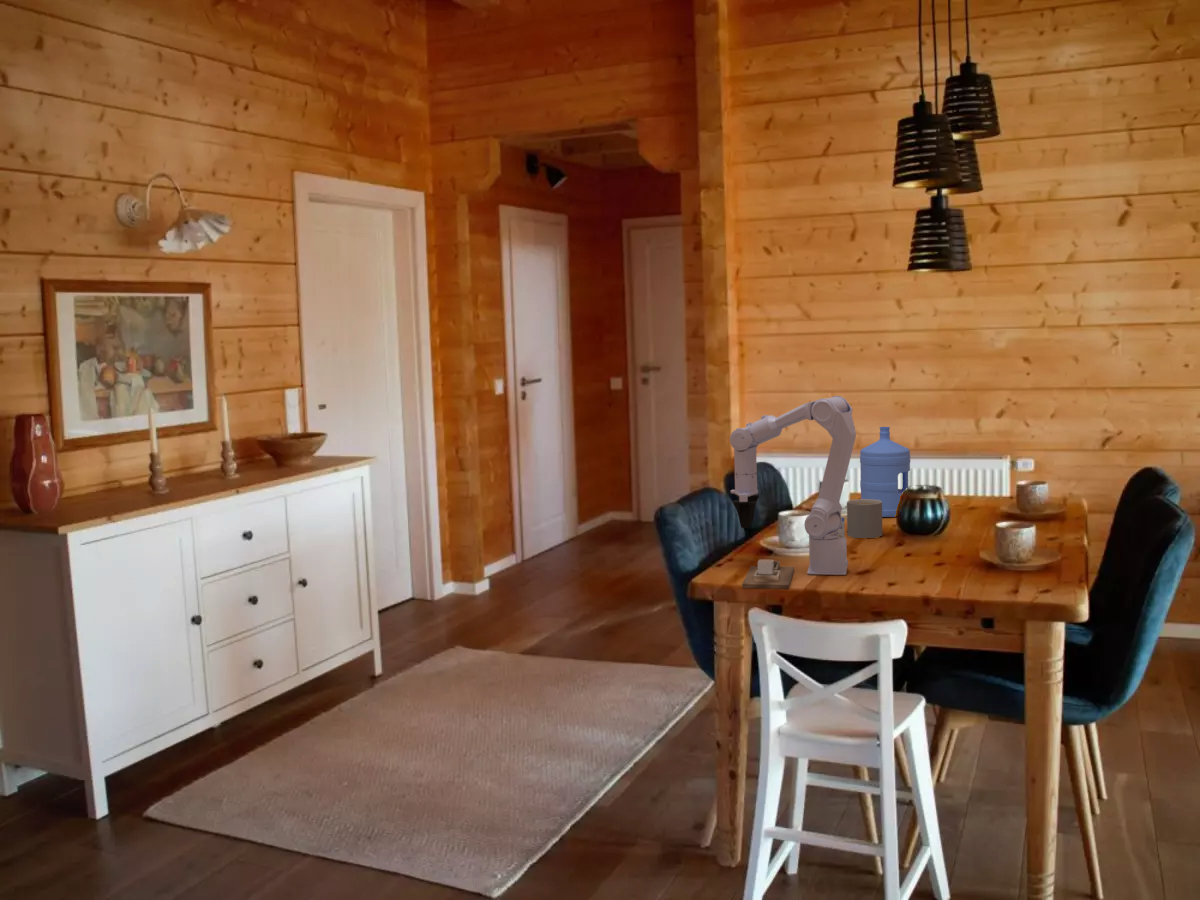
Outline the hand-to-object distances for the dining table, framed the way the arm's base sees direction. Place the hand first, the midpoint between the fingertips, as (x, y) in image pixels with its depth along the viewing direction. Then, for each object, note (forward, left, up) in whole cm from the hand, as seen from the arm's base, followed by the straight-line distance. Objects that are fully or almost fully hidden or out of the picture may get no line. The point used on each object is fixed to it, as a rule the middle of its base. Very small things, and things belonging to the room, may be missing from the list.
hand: (746, 525), depth 298 cm
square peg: (-7, +22, -9) cm, 24 cm away
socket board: (-7, +17, -10) cm, 21 cm away
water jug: (-36, -77, -11) cm, 86 cm away
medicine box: (-20, -22, -11) cm, 32 cm away
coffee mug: (-30, -42, -11) cm, 53 cm away
